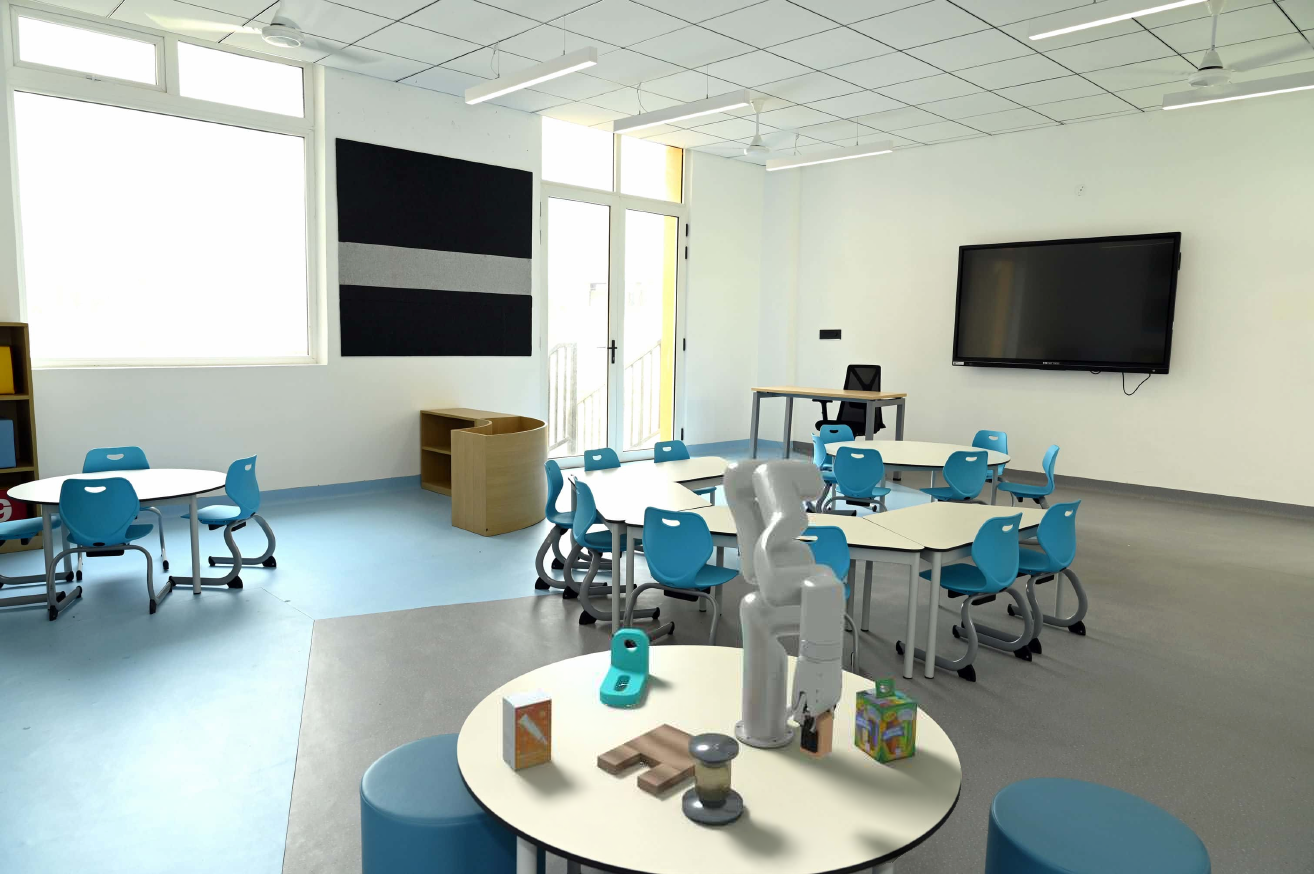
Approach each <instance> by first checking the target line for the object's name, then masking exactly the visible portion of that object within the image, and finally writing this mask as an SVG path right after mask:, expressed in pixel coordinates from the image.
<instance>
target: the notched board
mask: <svg viewBox="0 0 1314 874" xmlns="http://www.w3.org/2000/svg"><path fill="white" fill-rule="evenodd" d="M694 736H695V735H693V734H691V733H688V732H685V731H684V730H681V729H679V728H676V727H674V726H672V725H669V724H667V723H663V724H661V725H660V726H658V727H655V728H653V729H651V730H649V731H647V732H645V733H643V734H641V735H639V736H636V737H635V738H633V739H630V740H629V741H627V742H624V743H622V744H620V745H618V746H616V747H613V748H611V749H610V750H608V751H606V752H603V753H601V754H600V755H597V757H596V758H597V759H596V760H597V761H596V762H597V763H596V765H597V767H598V766H599V767H598V768H600V767H602V768H603V769H602V768H601V769H602V770H604V769H605V770H604V771H606V770H608V771H609V772H608V771H607V772H608V773H610V772H611V774H612V775H614V776H616V775H618V774H620V773H622V772H624V771H626V770H628V769H630V768H631V766H632V767H634V766H635V765H637V764H639V763H641V762H642V763H641V764H643V765H645V764H646V765H645V766H647V765H648V766H647V767H649V766H650V767H649V768H650V769H648V770H647V771H644V772H643V773H641V774H639V775H637V777H636V779H637V780H636V781H637V783H636V787H637V788H640V789H641V790H644V791H646V792H647V793H650V794H651V795H654V796H655V797H658V796H659V794H660V795H661V794H663V793H665V792H667V791H669V790H670V789H672V788H673V786H674V787H676V786H677V785H679V784H680V782H681V783H682V782H684V781H686V780H688V779H689V778H691V777H692V776H694V774H695V764H696V758H695V757H693V756H692V755H691V754H690V753H689V749H688V748H689V741H690V739H691V738H693V737H694ZM629 767H630V768H629ZM651 767H652V768H651ZM627 768H628V769H627ZM625 769H626V770H625ZM623 770H624V771H623ZM666 790H667V791H666Z"/></svg>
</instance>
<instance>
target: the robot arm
mask: <svg viewBox="0 0 1314 874" xmlns="http://www.w3.org/2000/svg"><path fill="white" fill-rule="evenodd" d="M824 480H825V479H824V476H823V473H822V471H821V469H820V468H819V466H818V464H816V463H815V462H813V461H811V460H810V461H809V460H803V459H796V458H782V459H781V458H777V459H773V458H771V459H770V458H755V459H752V458H749V459H741V460H740V459H739V460H736V461H734V462H731V463H729V464H728V465H727V466H726V467H725V469H724V473H723V479H722V481H723V484H722V485H723V492H724V498H725V502H726V504H727V506H728V508H729V511H730V514H731V516H732V517H733V521H734V525H735V528H736V537H737V543H738V544H737V545H738V551H739V552H738V553H739V560H740V566H741V572H742V573H741V574H742V576H743V579H744V580H745V581H746V583H749V584H751V585H755V586H756V585H758V589H759V590H756V591H751V592H750V593H747V594H746V595H744V596H743V597H742V599H741V602H740V604H739V618H740V624H741V625H740V626H741V631H742V652H743V653H742V654H743V655H742V694H741V696H742V697H741V698H742V700H741V702H742V704H741V719H740V720H739V721H738V722H736V723H735V725H734V727H733V728H734V730H733V731H734V732H733V733H734V735H735V737H736V738H737V739H738V740H739V741H741V742H742V743H744V744H747V745H749V746H753V747H757V748H763V749H764V748H765V749H766V748H770V749H773V748H777V747H778V748H779V747H783V746H786V745H787V744H790V742H791V741H793V739H794V730H793V729H794V728H792V726H791V725H789V724H788V721H789V719H790V718H791V717H793V721H794V722H795V723H798V724H799V728H800V749H801V748H803V749H805V750H808V751H810V752H812V753H816V752H817V751H818V731H816V728H817V721H818V715H820V714H821V713H823V712H825V711H827V712H829V713H832V714H834V715H835V710H836V708H837V705H838V703H839V702H840V700H841V698H842V693H843V692H842V691H843V690H842V689H843V660H842V658H843V647H844V646H843V645H844V644H843V642H844V623H845V604H846V603H845V602H846V586H845V583H843V582H842V580H840V579H839V578H838V577H837V574H836V573H835V572H834V570H833V569H832V568H831V566H829V565H826V564H821V563H820V564H819V563H816V560H815V557H814V554H813V550H812V549H811V547H810V546H809V545H808V544H807V543H806V542H805V541H802V540H799V539H797V538H799V537H801V535H803V533H805V531H806V530H807V529H808V526H809V522H810V521H809V516H808V514H807V510H806V508H805V506H804V503H803V502H816V501H818V500H819V499H820V498H822V495H823V494H824V489H825V481H824ZM797 635H798V636H799V638H798V656H797V659H796V662H795V667H794V671H793V677H792V678H793V679H792V686H791V687H792V689H791V700H790V706H788V680H789V679H788V675H789V673H788V672H789V657H788V653H787V651H786V649H785V648H784V646H783V645H782V644H781V643H780V642H779V641H778V637H783V636H784V637H785V636H797ZM809 710H810V711H809ZM807 716H809V717H812V721H811V722H810V721H809V720H808V719H806V718H807ZM834 719H835V716H834V717H833V721H834Z"/></svg>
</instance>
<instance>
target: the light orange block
mask: <svg viewBox="0 0 1314 874" xmlns="http://www.w3.org/2000/svg"><path fill="white" fill-rule="evenodd" d="M809 711H810V710H809ZM833 717H834V718H835V713H834V714H832V713H829V712H827V711H825V712H823V713H821V714H820V715H818V721H817V728H816V731H818V751H817V752H816V753H812V752H810V751H808V750H805V749H803V748H801V747H800V752H801V753H803V754H806V755H809V756H810V757H812V758H815V759H818V760H822V759H823V758H824V757H825V756H827V755H829V754H830V753H832V751H833V739H834V738H833V736H834V735H833V734H834V733H833V732H834V720H833ZM806 719H808V720H809V721H810V722H811V721H812V717H809V716H807V718H806Z"/></svg>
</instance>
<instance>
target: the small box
mask: <svg viewBox="0 0 1314 874" xmlns="http://www.w3.org/2000/svg"><path fill="white" fill-rule="evenodd" d="M552 701H553V700H552V698H551V696H548V695H547V694H546V693H545V692H544V691H542V690H541V689H540V688H535V689H531V690H527V691H526V690H525V691H521V692H517V693H514V694H510V695H506V696H502V759H503V760H504V761H505V762H506V763H507V764H508V765H509V767H511V768H512V769H513V770H514V771H518V770H522V769H526V768H530V767H533V766H535V765H540V764H543V763H547V762H551V761H552V722H553V721H552V714H553V710H552V705H553V704H552V703H553V702H552Z"/></svg>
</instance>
